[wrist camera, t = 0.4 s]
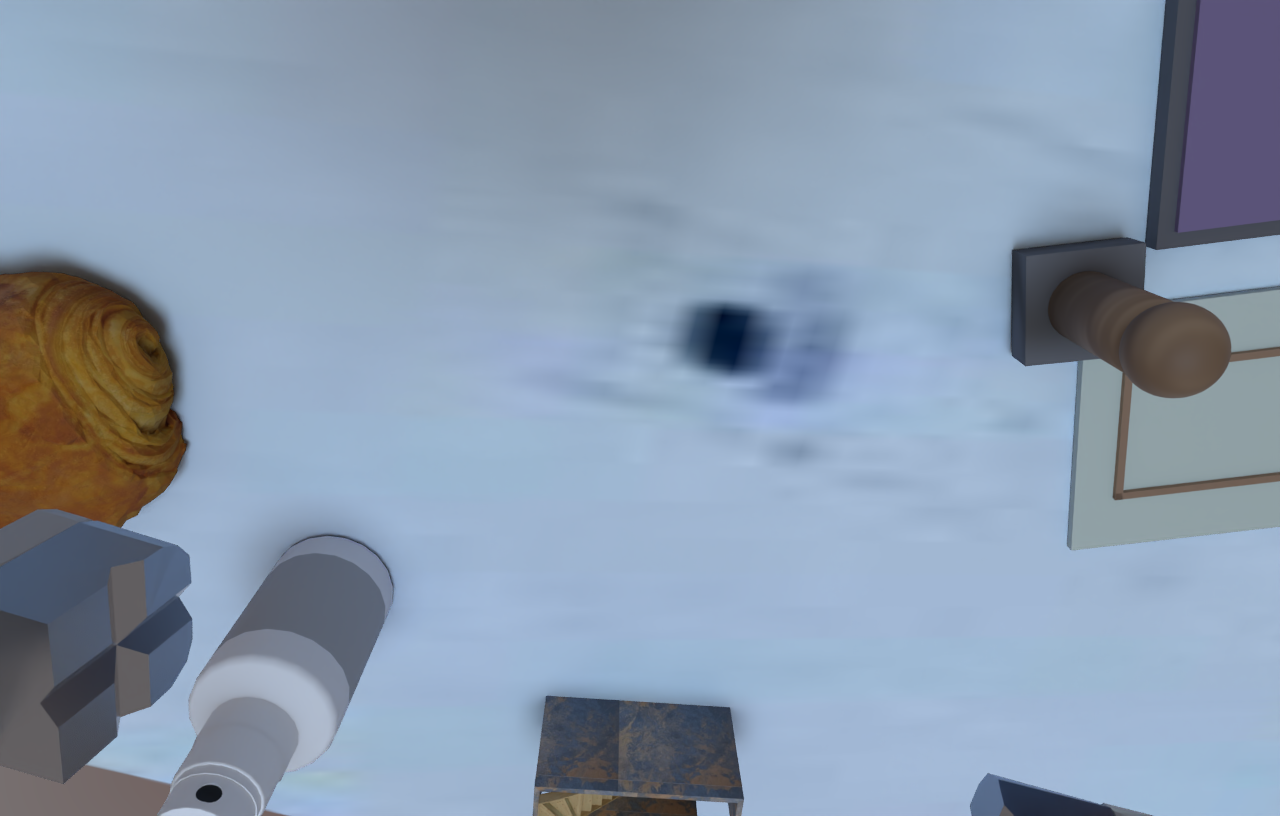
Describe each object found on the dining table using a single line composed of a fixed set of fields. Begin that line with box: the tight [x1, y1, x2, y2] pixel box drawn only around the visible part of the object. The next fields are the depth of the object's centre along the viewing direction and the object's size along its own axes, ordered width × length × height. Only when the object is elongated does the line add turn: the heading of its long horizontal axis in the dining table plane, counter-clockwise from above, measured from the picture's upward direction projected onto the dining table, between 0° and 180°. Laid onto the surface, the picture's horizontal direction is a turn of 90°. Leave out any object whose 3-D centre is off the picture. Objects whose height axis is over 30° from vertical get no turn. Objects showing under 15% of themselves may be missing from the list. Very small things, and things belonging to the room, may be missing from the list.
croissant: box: [0, 272, 187, 529], centre depth 44 cm, size 14×16×8 cm
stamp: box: [1012, 238, 1231, 398], centre depth 39 cm, size 6×6×12 cm
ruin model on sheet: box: [533, 696, 744, 816], centre depth 51 cm, size 11×3×10 cm, turn 85°
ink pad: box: [1145, 0, 1280, 250], centre depth 42 cm, size 12×10×1 cm
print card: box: [1067, 286, 1280, 550], centre depth 48 cm, size 14×16×1 cm
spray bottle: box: [157, 536, 393, 816], centre depth 43 cm, size 7×7×18 cm
